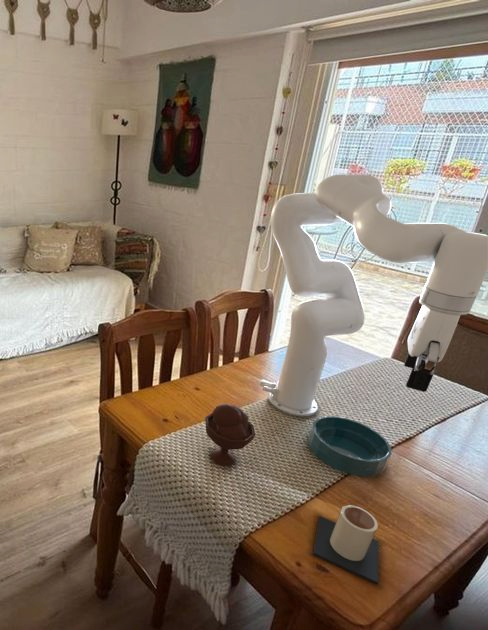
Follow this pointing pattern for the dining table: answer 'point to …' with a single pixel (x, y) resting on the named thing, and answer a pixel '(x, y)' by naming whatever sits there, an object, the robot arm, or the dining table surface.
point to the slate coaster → (325, 551)
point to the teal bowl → (349, 446)
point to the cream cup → (353, 532)
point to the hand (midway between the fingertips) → (414, 378)
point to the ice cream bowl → (228, 432)
